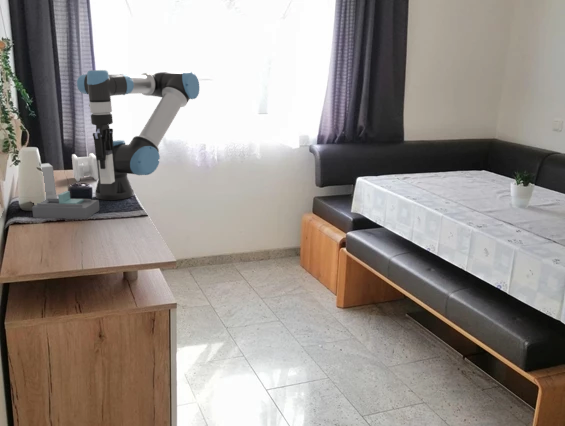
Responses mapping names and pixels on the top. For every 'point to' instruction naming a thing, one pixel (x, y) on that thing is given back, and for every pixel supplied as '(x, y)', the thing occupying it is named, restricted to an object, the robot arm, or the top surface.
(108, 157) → the grey rectangular block
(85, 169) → the cable organizer
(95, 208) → the socket housing
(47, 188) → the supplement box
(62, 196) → the shutter
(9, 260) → the top surface
